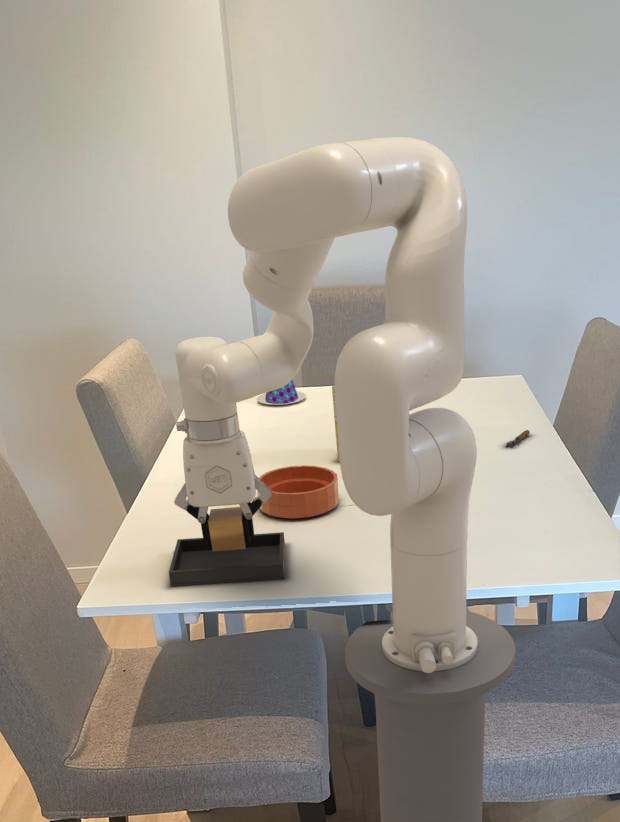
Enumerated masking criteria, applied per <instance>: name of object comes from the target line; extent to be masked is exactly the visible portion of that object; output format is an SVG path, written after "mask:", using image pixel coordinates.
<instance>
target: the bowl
mask: <svg viewBox="0 0 620 822" xmlns="http://www.w3.org/2000/svg"><path fill="white" fill-rule="evenodd" d="M258 478H259V479H260V480H261V481H262V482H263V483H264V484H265V485H266V486H267V487H269V488H270V489H271V491H272V496H271V497H270V498H269V499H268V500H267V501H266V502H265V503H263V504H262V505H261V507H260V508H259V509H260V510H261V512H262V513H264V514H266V515H268V516H272V517H277V518H280V519H281V518H282V519H283V518H284V519H305V518H310V517H311V518H312V517H315V516H320V515H322V514H326V513H327V512H330V511H331V510H333V509H335V508H336V507H337V505H338V504H339V503H340V497H339V481H338V480H339V479H338V474H337V473H336V471H334V470H332V469H330V468H328V467H324V466H318V465H307V464H306V465H305V464H304V465H303V464H302V465H289V466H284V467H279V468H275V469H273V470H269V471H267V472H265V473H263V474H262V475H260V476H259V477H258ZM256 491H257V490H256ZM256 493H257V496H259V494H260V492H259V491H257V492H256Z"/></svg>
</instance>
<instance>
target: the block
mask: <svg viewBox="0 0 620 822" xmlns="http://www.w3.org/2000/svg"><path fill="white" fill-rule="evenodd" d="M242 520H243V512H242V510H241V507H240V506H232V507H221V508H211V509H210V511H209V519H208V525H209V531H210V538H211V544H212V550H213V552H214V551H226V550H238V549H245V547H246V543H245V538H244V530H243V523H242Z"/></svg>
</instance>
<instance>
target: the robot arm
mask: <svg viewBox="0 0 620 822" xmlns="http://www.w3.org/2000/svg"><path fill="white" fill-rule="evenodd" d="M466 196H467V195H466V190H465V186H464V183H463V180H462V177H461V175H460V172H459V171H458V169H457V167H456V165H455V164H454V163H453V161H452V160H451V159H450V157H449V156H448V155H447V154H446V153H445V152H444V151H443V150H441V149H440V148H438V147H437V146H436V145H434V144H432V143H430V142H428V141H426V140H423V139H419V138H417V137H407V136H385V137H376V138H375V137H373V138H367V139H360V140H351V141H342V142H333V143H326V144H320V145H317V146H313V147H310V148H307V149H304V150H301V151H298V152H296V153H293V154H290V155H287V156H285V157H282V158H279V159H276V160H273V161H271V162H268V163H264V164H261V165H258V166H254V167H252V168H250V169H248V170H246V171H245V172H244V173H243V174H242V175H240V177H238V179H237V180H236V182H235V183H234V185H233V187H232V189H231V191H230V193H229V198H228V204H227V219H228V220H227V221H228V224H229V228H230V230H231V233H232V236H233V237H234V239H235V240H236V242H237V243H238V244H239V245H240V246H241V247H242V248H244V249H245V250H247V251H249V255H248V258H247V260H246V262H245V265H244V267H243V271H242V280H243V281H242V282H243V284H244V286H245V289H246V291H247V292H248V293H249V295H250V296H251V297H252V298H253V299H254V300H255V301H256V302H258V303H259V304H260V305H261V306H263V307H265V308H267V309H269V310H271V311H273V313H272V315H271V318H270V321H269V323H268V325H267V327H266V330H265V331H264V333H262V334H261V335H256V336H252V337H248V338H245V339H241V340H238V341H234V342H232V343H227V341H226V340H224V339H223V338H221V337H217V336H198V337H192V338H188V339H184V340H183V341H180V342H179V343H178V344H177V346H176V348H175V361H176V367H177V374H178V381H179V386H180V393H181V399H182V406H183V411H184V416H185V417H184V418H183V420H180V421H176V422H175V426H176V431H177V432H183V433H185V434H186V436H185V437H184V439H183V441H182V442H183V443H182V461H183V472H184V482H185V483H184V484H183V485H182V487H181V489H180V490H179V492H178V493H177V495H176V496H175V498H174V505H175V506H177V507H178V508H180V509H182V510H184V511H185V512H187V514H189V515H190V516H192V517H193V518H195V520H197V522H198V523H199V524H200V527H201V534H202V538H203V540H207V542H208V547H212V544H211V538H210V531H209V525H208V519H209V515H210V513H208V512H209V508H210V507H211V508H212V507H222V506H235V505H238V506H239V507H241V510H242V512H243V520H242V523H243V530H244V538H245V543H246V544H250V538H251V537H252V536H254V534H255V529H254V527H255V526H254V521H253V516H255V514H256V513H257V512H258V511H259V509H260V507H261V505H262V504H263V503H265V502H266V501H267V500H268V499H269V498H270V497H271V496H272V491H271V489H270V488H269V487H267V486H266V485H265V484H264V483H263V482H262V481H261V480H260V479H259V477H258V476H257V475H256V474H255V469H254V464H253V463H254V462H253V459H252V454H251V450H250V446H249V443H248V439H247V437H246V433H245V432H244V431H243V430H241V429H240V422H239V414H238V407H237V403H240V402H243V401H246V400H249V399H252V398H254V397H257V396H260V395H262V394H265V393H267V392H270V391H273V390H276V389H279V388H282V387H283V386H285V385H287V384H288V383H289V382H290V381H291V380H294V378H295V377H296V376H297V374H298V372H299V371H300V369H301V367H302V365H303V364H304V361H305V360H306V357H307V355H308V354H309V351H310V348H311V346H312V344H313V340H314V331H315V330H314V315H313V311H312V306H311V304H310V301H309V297H310V294H311V292H312V290H313V288H314V285H315V284H316V281H317V278H318V276H319V274H320V272H321V270H322V267H323V265H324V263H325V261H326V259H327V257H328V255H329V252H330V250H331V248H332V246H333V243H334V241H335V239H336V238H339V237H343V236H349V235H352V234H353V235H354V234H358V233H362V232H368V231H373V230H378V229H383V228H386V227H392V228H395V229H396V233H397V234H396V236H395V239H394V241H393V244H392V247H391V249H390V252H389V255H388V258H387V262H386V268H385V276H384V287H385V317H384V321H383V323H382V324H380V325H376V326H372V327H369V328H367V329H363V330H361V331H360V332H359V333H356V334H355V335H353V336H352V337H351V338H349V340H348V341H346V344H345V345H344V346H343V348H342V349H341V351H340V353H339V356H338V359H337V362H336V365H335V372H334V385H335V401H336V415H337V428H338V442H339V456H340V462H339V466H340V472H341V478H342V482H343V485H344V487H345V488H344V489H345V490H346V493H347V494H348V496H349V498H350V499H351V501H352V503H353V504H354V505H355V506H356V507H357V508H358V509H359V510H360V511H362V512H363V513H366V514H368V515H371V516H375V517H383V516H389V515H390V523H389V537H390V538H389V539H390V540H389V541H390V544H389V545H390V573H391V574H390V575H391V603H392V608H391V609H392V612H393V627H392V628H390V629H389V630H388V631H387V632H386V633H385V634H384V636H383V638H382V651H383V653H384V655H385V656H386V658H387V659H389V660H390V661H391V662H392V663H394V664H396V665H398V666H400V667H403V668H406V669H410V670H414V671H423V672H425V673H431V672H435V671H444V670H449V669H453V668H456V667H459V666H461V665H463V664H465V663H467V662H468V661H469V660H471V659H472V658H473V656H474V655H475V654H476V652H477V646H478V640H477V636H476V635H475V633H474V632H473V631H472V630H471V629H470V628H469V627H467V626H466V611H467V589H468V588H467V584H468V583H467V582H468V581H467V579H468V577H467V576H468V575H467V574H468V533H469V532H468V530H469V529H468V528H469V510H470V509H469V508H470V499H471V492H472V487H473V481H474V476H475V472H476V466H477V457H478V456H477V455H478V454H477V452H478V451H477V442H476V436H475V434H474V431H473V428H472V427H471V425H470V424H469V422H468V421H467V419H465V418H464V417H463V416H462V415H461V414H459V413H458V412H456V411H454V410H452V409H449V408H445V407H429V408H424V409H421V410H418V411H414V412H412V413H410V412H411V411H413V410H415V409H418V408H421V407H422V406H423V407H424V406H426V405H428V404H431V403H434V402H435V401H438V400H439V399H442V398H444V397H445V396H447V395H449V394H451V393H452V392H453V391H454V390H455V389H457V387H458V386H459V384H460V383H461V381H462V379H463V374H464V369H465V255H466V254H465V253H466V240H467V230H468V229H467V228H468V204H467V197H466ZM256 491H259V492H260V494H259V496H258V495H257V496H256V493H257V492H256Z"/></svg>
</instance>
